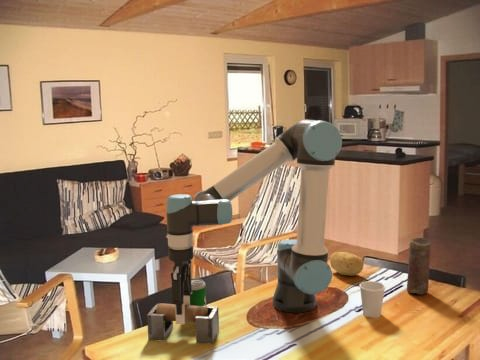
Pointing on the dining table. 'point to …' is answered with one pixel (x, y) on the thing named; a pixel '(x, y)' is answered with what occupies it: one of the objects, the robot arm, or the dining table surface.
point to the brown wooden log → (189, 312)
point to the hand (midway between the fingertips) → (183, 319)
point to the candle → (418, 266)
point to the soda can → (198, 292)
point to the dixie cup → (372, 298)
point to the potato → (346, 263)
